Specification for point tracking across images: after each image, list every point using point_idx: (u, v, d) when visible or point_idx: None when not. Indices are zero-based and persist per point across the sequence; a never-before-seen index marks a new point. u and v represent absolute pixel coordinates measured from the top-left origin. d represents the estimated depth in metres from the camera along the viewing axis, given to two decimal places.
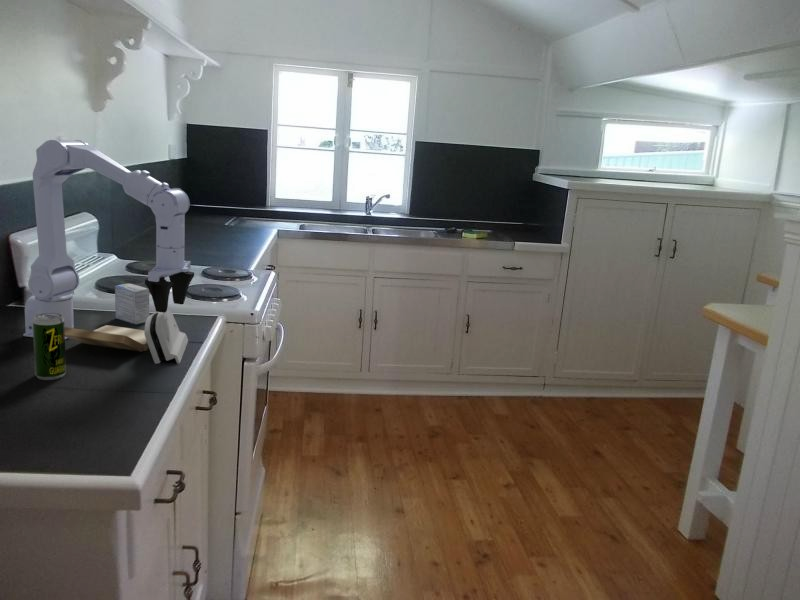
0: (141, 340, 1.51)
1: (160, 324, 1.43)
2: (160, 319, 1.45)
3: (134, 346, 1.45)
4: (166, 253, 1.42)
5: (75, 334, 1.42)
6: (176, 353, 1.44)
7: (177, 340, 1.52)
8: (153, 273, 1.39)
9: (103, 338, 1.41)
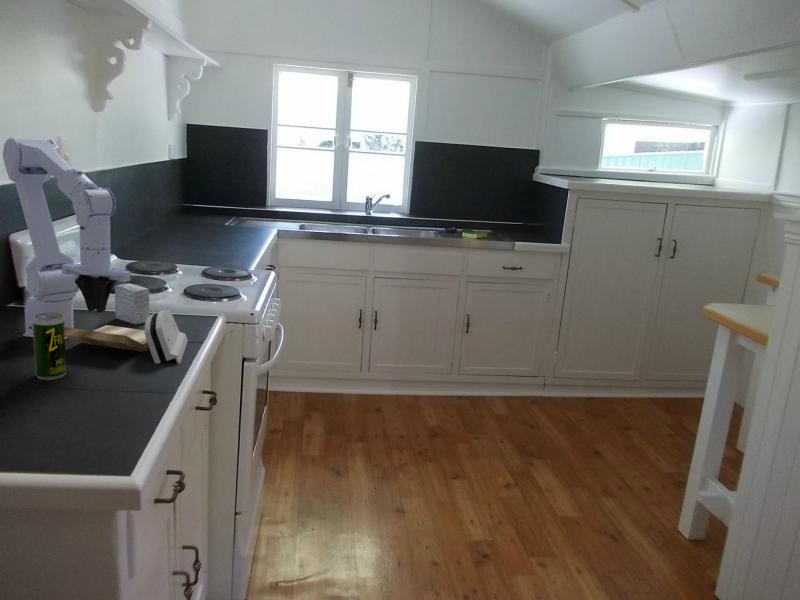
0: (141, 340, 1.51)
1: (160, 324, 1.43)
2: (160, 319, 1.45)
3: (134, 346, 1.45)
4: None
5: (75, 334, 1.42)
6: (176, 353, 1.44)
7: (177, 340, 1.52)
8: None
9: (103, 338, 1.41)
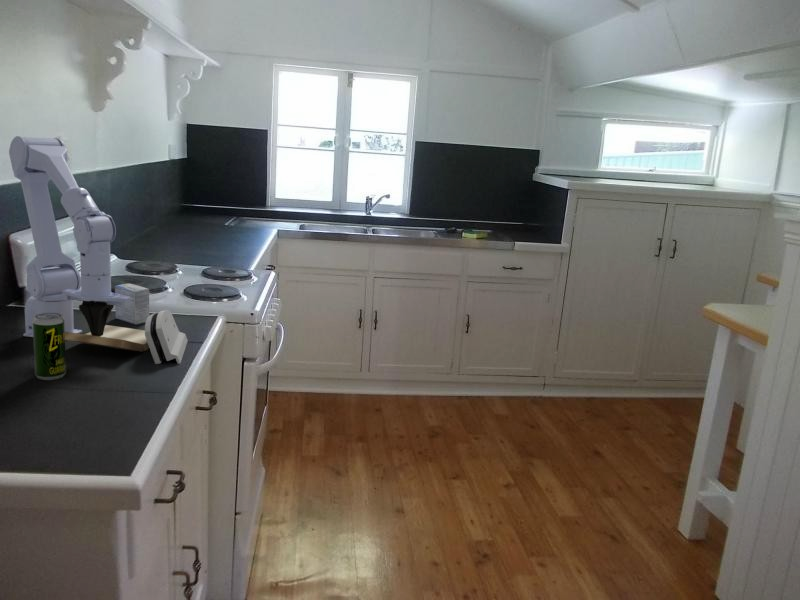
0: (141, 340, 1.51)
1: (160, 324, 1.43)
2: (160, 319, 1.45)
3: (134, 348, 1.45)
4: None
5: (74, 338, 1.42)
6: (176, 353, 1.44)
7: (177, 340, 1.52)
8: None
9: (102, 342, 1.41)
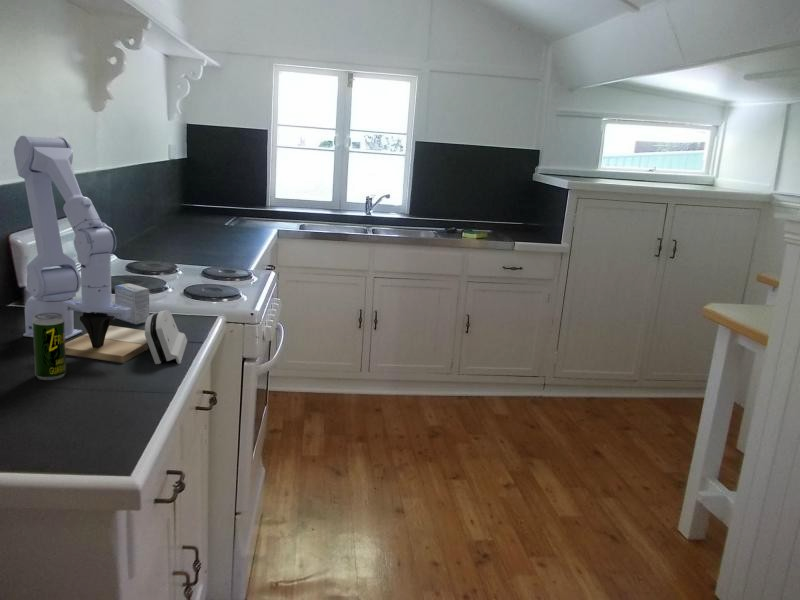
0: (141, 340, 1.51)
1: (160, 324, 1.43)
2: (160, 319, 1.44)
3: (135, 355, 1.46)
4: None
5: (74, 354, 1.43)
6: (176, 353, 1.44)
7: (177, 340, 1.52)
8: None
9: (102, 358, 1.42)
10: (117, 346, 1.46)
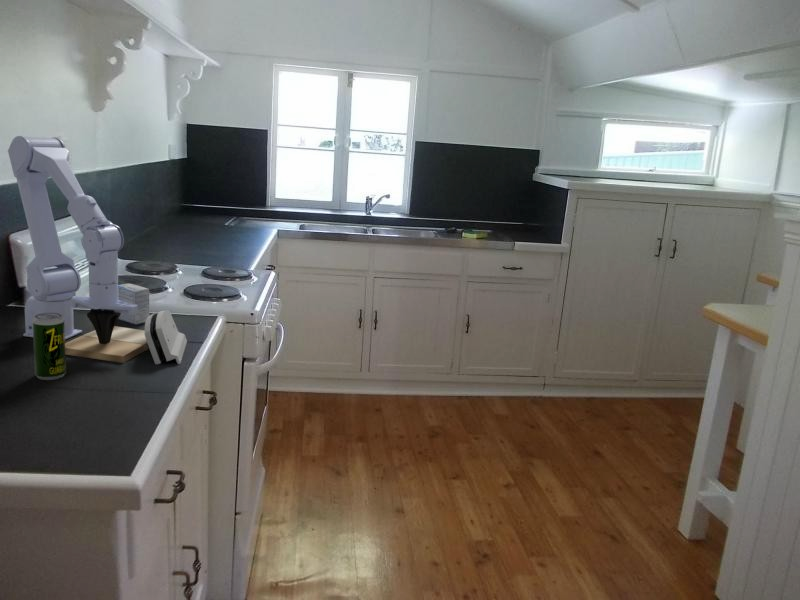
0: (141, 340, 1.51)
1: (160, 325, 1.43)
2: (160, 320, 1.44)
3: (135, 355, 1.46)
4: None
5: (74, 354, 1.43)
6: (176, 353, 1.44)
7: (176, 340, 1.51)
8: None
9: (102, 358, 1.42)
10: (117, 346, 1.46)
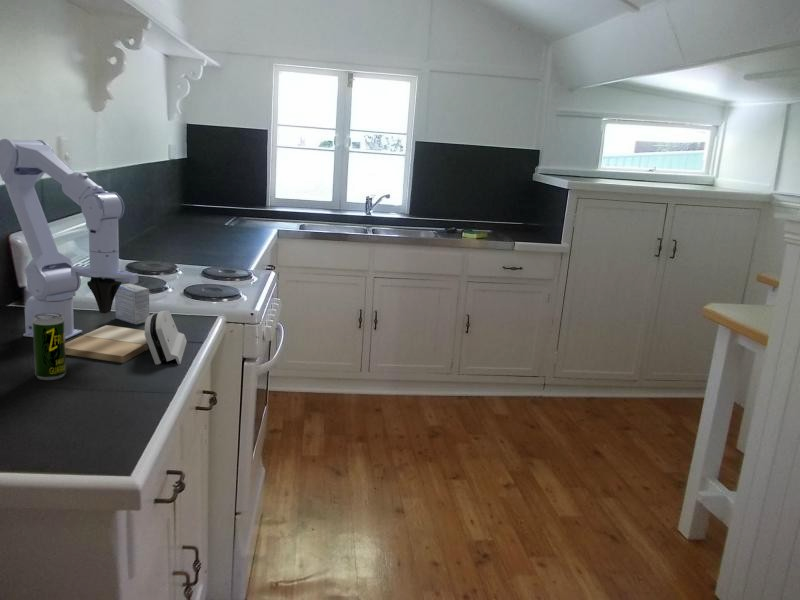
0: (141, 340, 1.51)
1: (160, 325, 1.43)
2: (160, 320, 1.44)
3: (135, 355, 1.46)
4: None
5: (74, 354, 1.43)
6: (176, 354, 1.44)
7: (176, 341, 1.51)
8: None
9: (102, 358, 1.42)
10: (117, 346, 1.46)
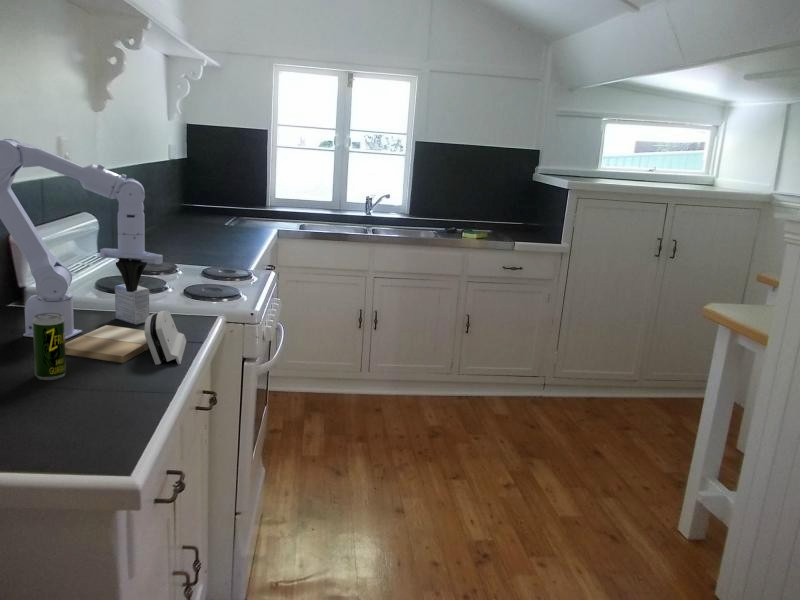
0: (141, 340, 1.51)
1: (160, 325, 1.43)
2: (160, 320, 1.44)
3: (135, 355, 1.46)
4: None
5: (74, 354, 1.43)
6: (177, 354, 1.44)
7: (176, 341, 1.51)
8: None
9: (102, 358, 1.42)
10: (117, 346, 1.46)
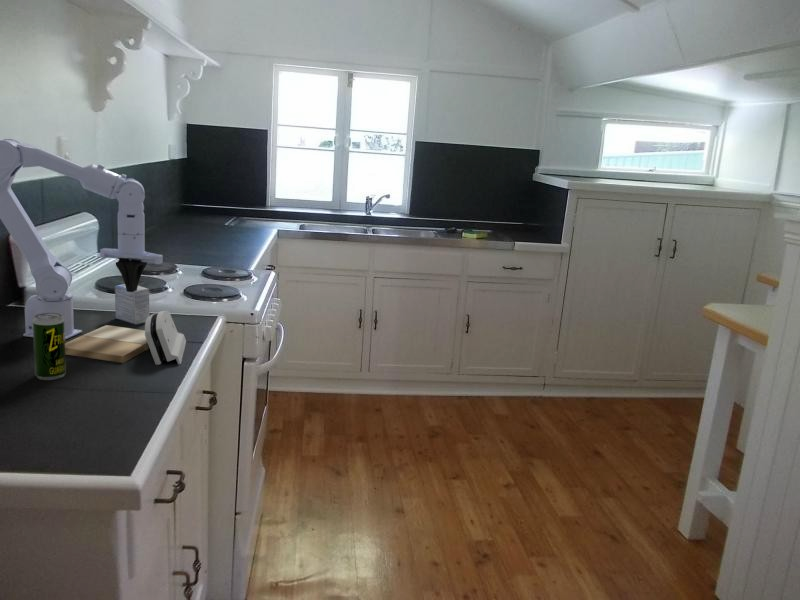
0: (141, 340, 1.51)
1: (160, 325, 1.42)
2: (160, 320, 1.44)
3: (135, 355, 1.46)
4: None
5: (74, 354, 1.43)
6: (177, 354, 1.44)
7: (176, 341, 1.51)
8: None
9: (102, 358, 1.42)
10: (117, 346, 1.46)
